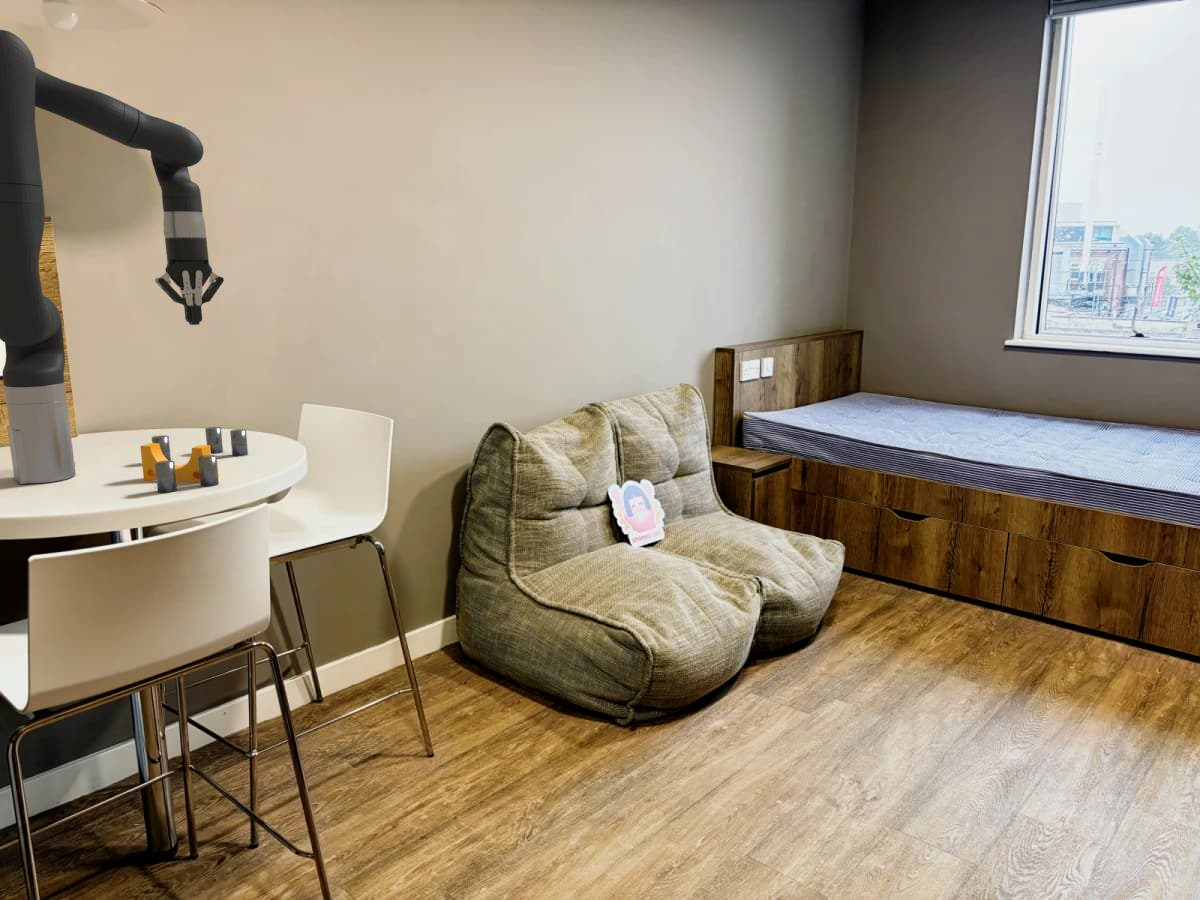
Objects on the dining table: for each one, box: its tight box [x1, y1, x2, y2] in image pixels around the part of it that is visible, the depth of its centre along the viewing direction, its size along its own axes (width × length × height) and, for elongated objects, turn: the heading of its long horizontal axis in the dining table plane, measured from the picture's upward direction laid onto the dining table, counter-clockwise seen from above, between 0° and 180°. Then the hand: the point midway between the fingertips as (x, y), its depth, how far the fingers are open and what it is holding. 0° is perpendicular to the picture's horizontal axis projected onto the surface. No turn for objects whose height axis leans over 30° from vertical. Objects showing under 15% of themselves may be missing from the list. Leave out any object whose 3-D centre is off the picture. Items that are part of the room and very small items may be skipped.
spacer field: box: [151, 426, 249, 494], centre depth 171 cm, size 23×31×5 cm
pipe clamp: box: [140, 442, 220, 484], centre depth 163 cm, size 12×4×6 cm, turn 81°
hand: (194, 324), depth 181 cm, fingers closed
